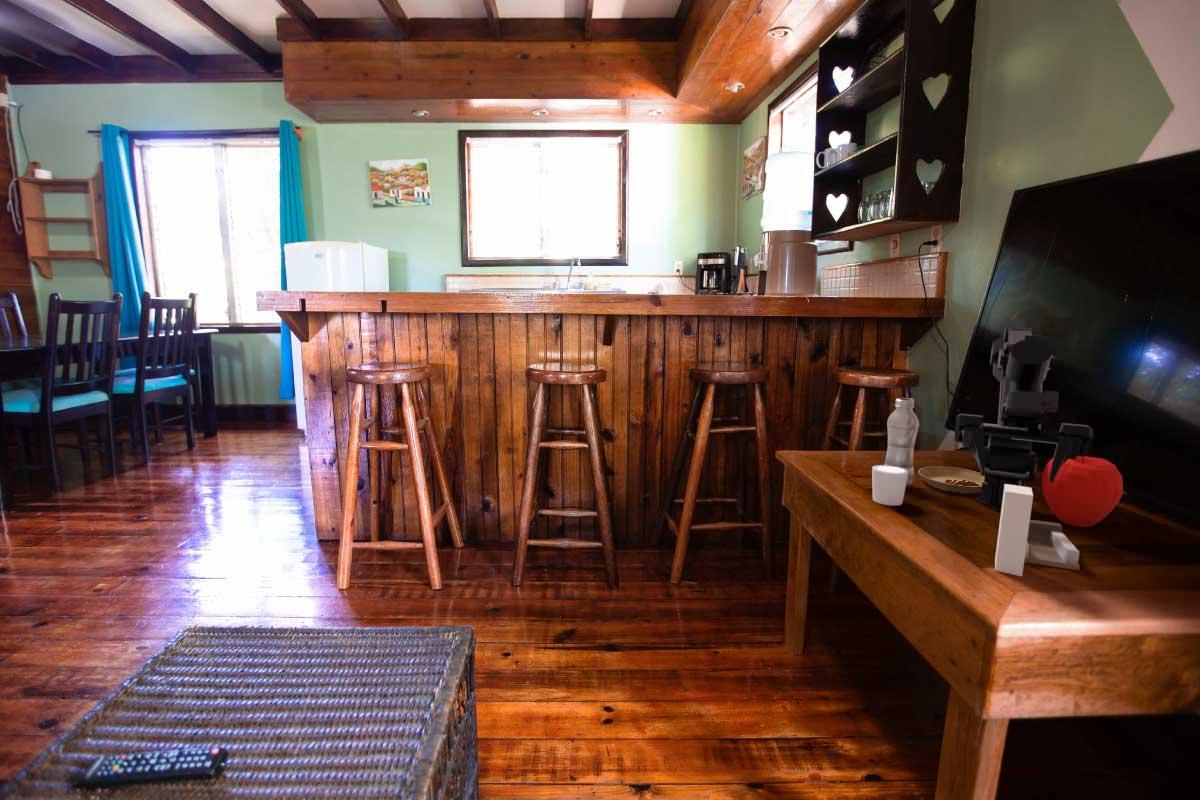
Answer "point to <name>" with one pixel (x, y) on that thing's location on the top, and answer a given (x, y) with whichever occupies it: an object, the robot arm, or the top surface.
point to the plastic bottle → (902, 436)
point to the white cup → (889, 484)
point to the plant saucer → (952, 478)
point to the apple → (1083, 490)
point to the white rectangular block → (1013, 529)
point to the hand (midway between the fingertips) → (1016, 476)
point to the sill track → (1050, 546)
